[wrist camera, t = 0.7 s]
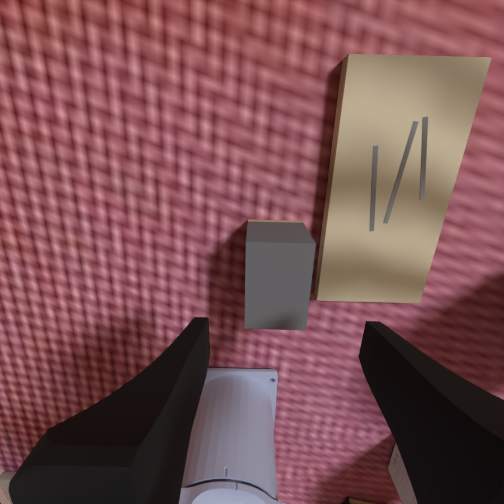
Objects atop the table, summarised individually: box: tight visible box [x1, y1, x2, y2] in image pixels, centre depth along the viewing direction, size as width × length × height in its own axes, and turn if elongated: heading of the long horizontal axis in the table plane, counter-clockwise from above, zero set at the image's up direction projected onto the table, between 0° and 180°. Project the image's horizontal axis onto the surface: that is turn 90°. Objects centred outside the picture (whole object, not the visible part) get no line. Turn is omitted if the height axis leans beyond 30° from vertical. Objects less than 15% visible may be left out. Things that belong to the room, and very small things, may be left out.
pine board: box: [314, 54, 491, 303], centre depth 19 cm, size 16×8×1 cm, turn 179°
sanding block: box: [245, 220, 316, 330], centre depth 19 cm, size 6×4×5 cm, turn 179°
